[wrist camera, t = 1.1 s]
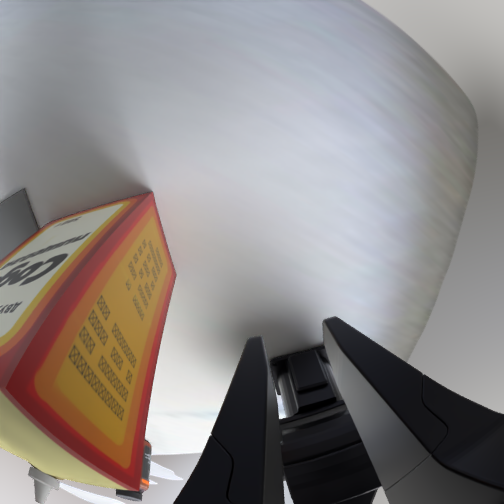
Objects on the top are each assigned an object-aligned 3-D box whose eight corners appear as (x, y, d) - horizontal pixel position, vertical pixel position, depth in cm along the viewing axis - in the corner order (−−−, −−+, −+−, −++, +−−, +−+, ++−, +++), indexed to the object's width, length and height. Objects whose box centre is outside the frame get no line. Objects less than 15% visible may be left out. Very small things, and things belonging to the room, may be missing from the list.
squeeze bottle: (40, 385, 26) (7, 485, 9) (88, 410, 28) (66, 515, 12) (42, 405, 28) (17, 491, 12) (84, 426, 31) (67, 515, 15)
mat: (89, 327, 21) (88, 329, 21) (5, 337, 21) (4, 338, 21) (24, 188, 15) (22, 189, 15) (-46, 238, 15) (-48, 240, 15)
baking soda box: (77, 291, 20) (-4, 451, 5) (49, 222, 17) (-86, 361, 2) (176, 275, 20) (138, 499, 6) (152, 191, 17) (-1, 401, 3)
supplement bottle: (110, 432, 31) (101, 490, 21) (140, 433, 31) (133, 496, 21) (129, 447, 34) (124, 500, 24) (158, 447, 34) (155, 504, 24)
